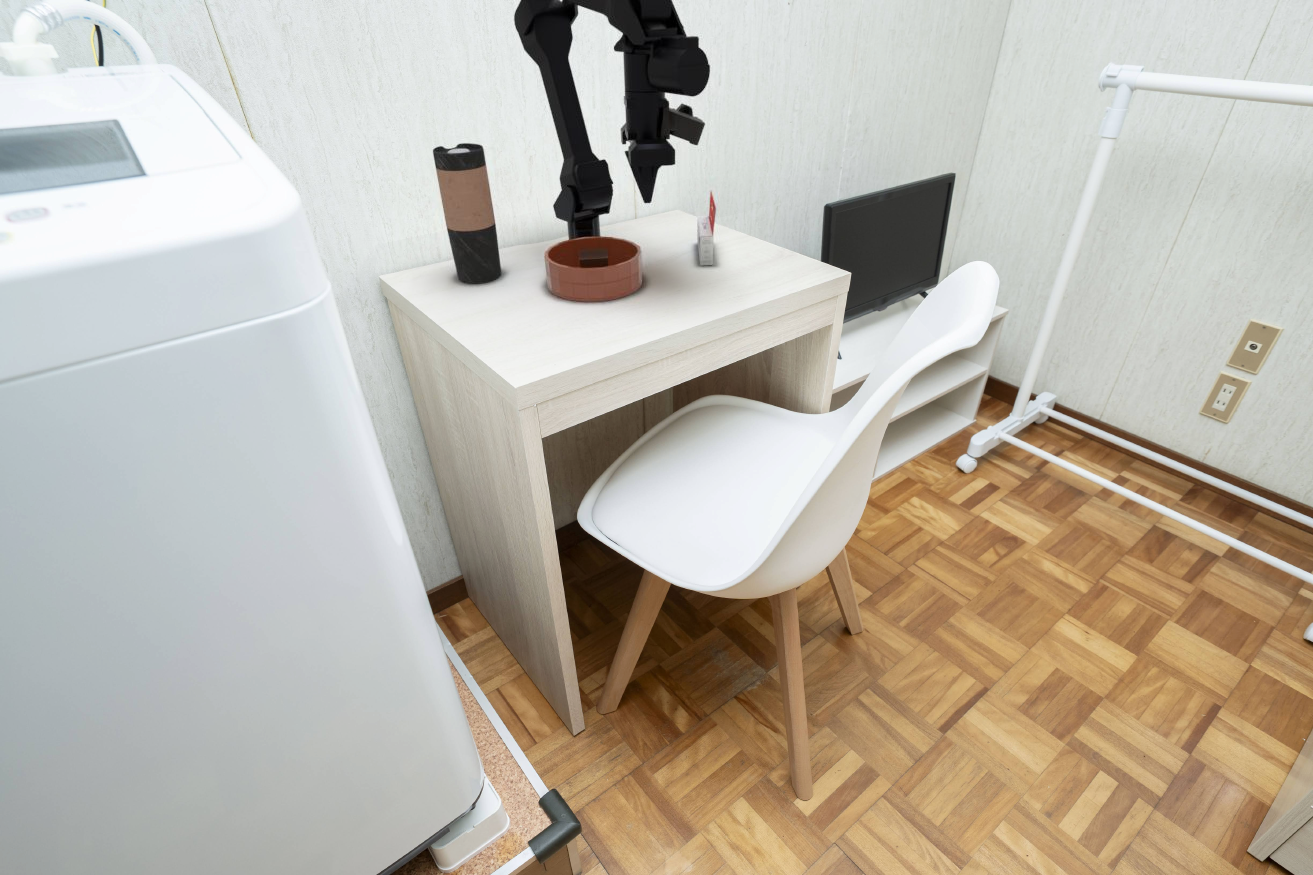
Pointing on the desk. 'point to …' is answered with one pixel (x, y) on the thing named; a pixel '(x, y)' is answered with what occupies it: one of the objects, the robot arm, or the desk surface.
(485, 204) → the travel mug
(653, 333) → the desk surface
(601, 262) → the block
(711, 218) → the ink cartridge box
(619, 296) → the bowl
